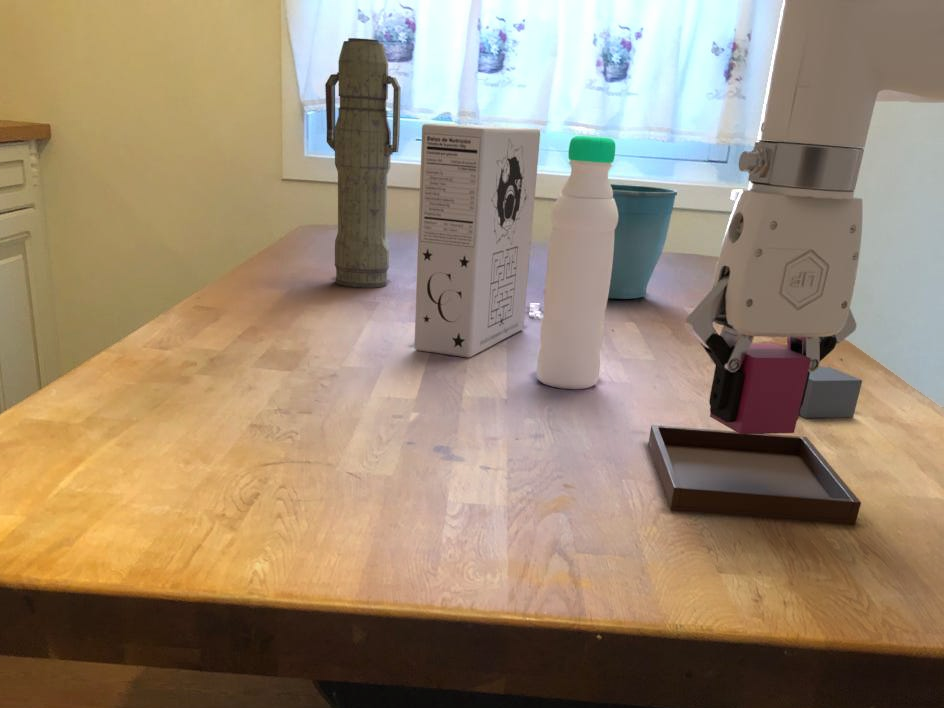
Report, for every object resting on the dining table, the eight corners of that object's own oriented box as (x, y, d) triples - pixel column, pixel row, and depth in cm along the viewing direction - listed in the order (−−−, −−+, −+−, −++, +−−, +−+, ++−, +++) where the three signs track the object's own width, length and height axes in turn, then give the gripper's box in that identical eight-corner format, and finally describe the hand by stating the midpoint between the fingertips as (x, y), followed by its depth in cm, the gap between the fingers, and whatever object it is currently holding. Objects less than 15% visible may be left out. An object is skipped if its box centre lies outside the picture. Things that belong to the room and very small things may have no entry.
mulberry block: (761, 415, 84) (776, 344, 81) (794, 433, 79) (811, 358, 77) (709, 416, 82) (723, 343, 79) (740, 434, 78) (755, 357, 75)
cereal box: (473, 322, 140) (485, 125, 128) (524, 329, 138) (541, 129, 126) (413, 350, 122) (420, 123, 110) (470, 358, 120) (484, 128, 108)
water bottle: (587, 394, 108) (618, 139, 96) (527, 384, 110) (549, 134, 98) (604, 381, 114) (635, 139, 102) (547, 372, 116) (570, 134, 104)
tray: (801, 461, 91) (806, 436, 90) (854, 530, 76) (861, 502, 75) (647, 449, 91) (651, 424, 90) (669, 515, 76) (674, 487, 75)
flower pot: (542, 295, 165) (553, 184, 157) (573, 282, 180) (584, 180, 172) (648, 308, 159) (664, 194, 151) (671, 294, 174) (687, 189, 166)
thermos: (334, 276, 169) (332, 39, 153) (401, 282, 168) (407, 43, 151) (319, 284, 162) (316, 35, 145) (389, 290, 160) (395, 39, 144)
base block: (821, 402, 111) (829, 366, 109) (853, 417, 106) (862, 380, 104) (774, 403, 109) (782, 366, 107) (805, 418, 104) (814, 380, 102)
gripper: (727, 170, 66) (681, 433, 75) (935, 183, 71) (869, 429, 80) (676, 162, 73) (639, 406, 81) (870, 175, 77) (815, 404, 86)
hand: (753, 415), depth 80 cm, fingers closed on mulberry block, 5 cm apart
